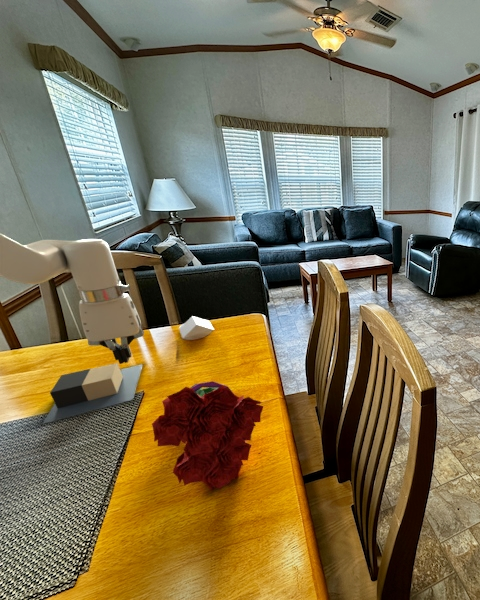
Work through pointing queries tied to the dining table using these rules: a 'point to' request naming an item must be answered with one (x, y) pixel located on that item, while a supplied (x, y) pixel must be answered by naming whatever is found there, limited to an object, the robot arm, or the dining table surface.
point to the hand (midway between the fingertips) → (124, 360)
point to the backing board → (123, 395)
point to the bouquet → (208, 432)
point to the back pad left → (69, 389)
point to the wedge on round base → (195, 328)
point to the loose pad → (102, 381)
